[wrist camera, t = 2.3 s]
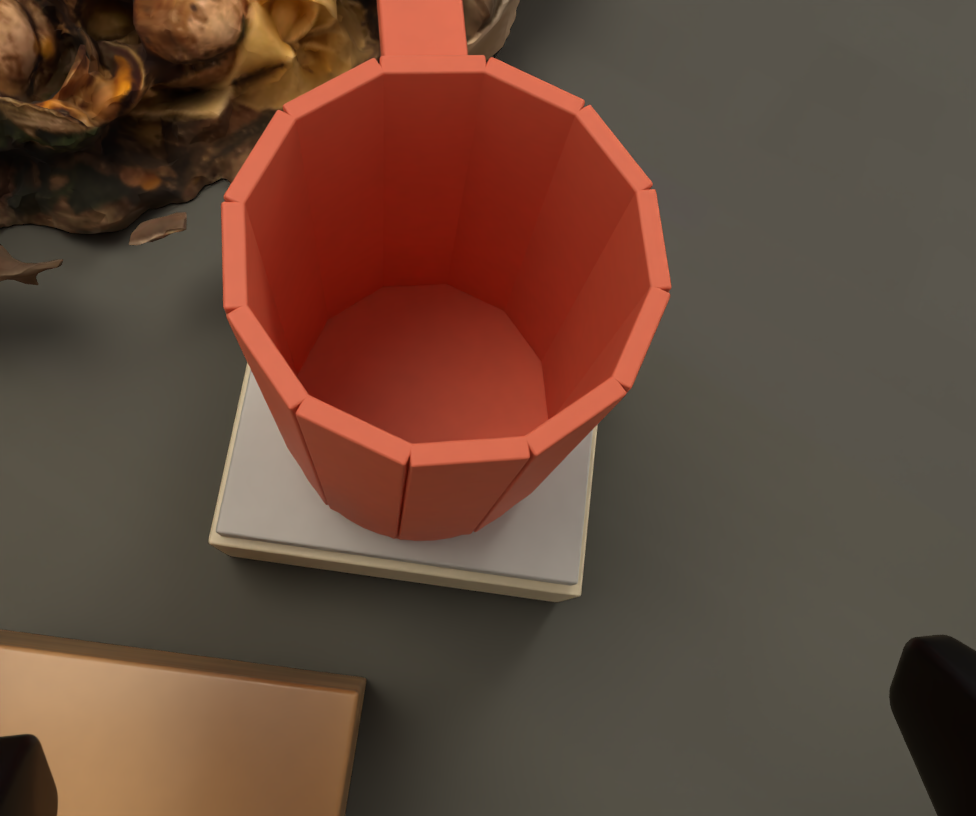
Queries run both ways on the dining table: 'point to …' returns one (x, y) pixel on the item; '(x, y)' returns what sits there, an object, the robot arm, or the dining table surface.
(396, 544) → the kitchen scale
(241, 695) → the cabinet
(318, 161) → the red mug
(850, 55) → the dining table surface
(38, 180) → the food dish
